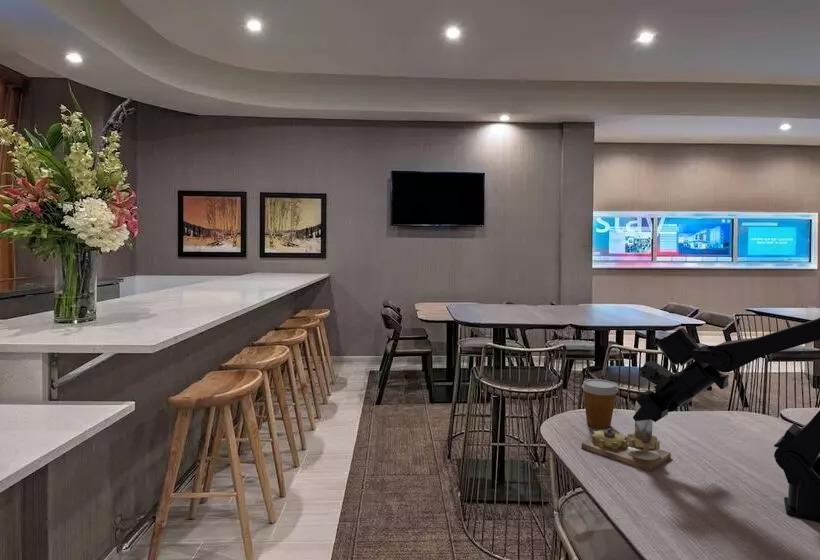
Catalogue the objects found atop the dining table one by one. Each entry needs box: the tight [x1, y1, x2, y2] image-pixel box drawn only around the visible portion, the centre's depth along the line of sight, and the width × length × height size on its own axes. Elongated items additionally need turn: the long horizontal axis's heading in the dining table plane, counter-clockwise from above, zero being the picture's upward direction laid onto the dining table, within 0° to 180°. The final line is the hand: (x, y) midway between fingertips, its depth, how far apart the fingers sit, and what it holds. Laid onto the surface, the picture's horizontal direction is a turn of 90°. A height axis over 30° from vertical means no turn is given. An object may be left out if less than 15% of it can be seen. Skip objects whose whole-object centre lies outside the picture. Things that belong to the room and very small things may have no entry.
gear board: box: [581, 427, 672, 472], centre depth 119 cm, size 17×11×5 cm, turn 41°
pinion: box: [626, 400, 661, 452], centre depth 115 cm, size 7×7×10 cm
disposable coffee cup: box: [581, 378, 619, 429], centre depth 137 cm, size 10×10×12 cm
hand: (638, 417), depth 116 cm, fingers closed on pinion, 4 cm apart
